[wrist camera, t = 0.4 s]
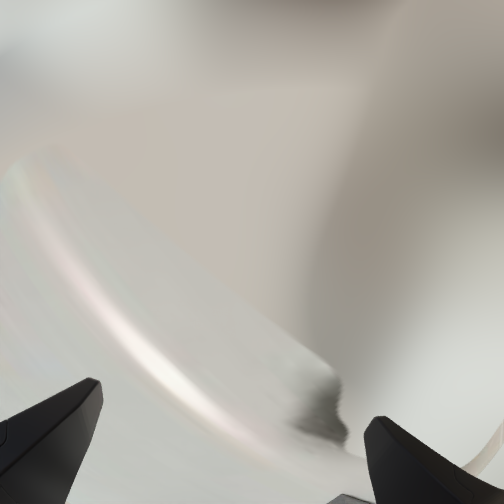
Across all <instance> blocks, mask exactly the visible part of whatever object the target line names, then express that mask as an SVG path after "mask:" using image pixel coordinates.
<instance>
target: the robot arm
mask: <svg viewBox="0 0 504 504" xmlns="http://www.w3.org/2000/svg"><path fill="white" fill-rule="evenodd" d="M102 405H103V393H102V386H101V382H100V381H99V380H96V379H93V378H86V379H84V380H82V381H80V382H78V383H76V384H75V385H73V386H71V387H69V388H67V389H65V390H63V391H61V392H59V393H57V394H56V395H54V396H52V397H50V398H48V399H46V400H44V401H42V402H40V403H38V404H36V405H34V406H32V407H30V408H28V409H26V410H24V411H22V412H20V413H18V414H16V415H14V416H12V417H10V418H8V420H4V421H2V422H0V504H65V502H66V499H67V497H68V494H69V492H70V489H71V487H72V484H73V482H74V479H75V477H76V475H77V472H78V470H79V468H80V465H81V463H82V461H83V458H84V456H85V454H86V452H87V449H88V447H89V445H90V442H91V440H92V437H93V433H94V430H95V427H96V424H97V421H98V418H99V414H100V411H101V408H102ZM364 443H365V449H366V456H367V464H368V470H369V475H370V479H371V483H372V487H373V491H374V495H375V500H376V504H504V490H503V489H499V488H497V487H494V486H492V485H490V484H488V483H486V482H484V481H482V480H480V479H478V478H476V477H474V476H472V475H471V474H469V473H467V472H466V471H464V470H462V469H461V468H459V467H458V466H456V465H455V464H453V463H451V462H450V461H448V460H447V459H446V458H444V457H443V456H441V455H440V454H438V453H437V452H435V451H434V450H432V449H431V448H430V447H428V446H427V445H425V444H424V443H422V442H421V441H420V440H418V439H417V438H415V437H414V436H412V435H411V434H410V433H408V432H407V431H405V430H404V429H403V428H401V427H400V426H399V425H397V424H396V423H394V422H393V421H392V420H390V419H389V418H388V417H386V416H377V417H374V418H373V420H372V421H371V423H370V424H369V426H368V427H367V429H366V431H365V432H364Z"/></svg>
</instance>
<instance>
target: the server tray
mask: <svg viewBox="0 0 504 504" xmlns="http://www.w3.org/2000/svg"><path fill="white" fill-rule="evenodd" d="M328 504H371V503H367V502H364V501H361V500H358V499H355V498H352V497H349V496H347V495H344V494H341V495H340V496H338V497H337V498H335V499H334V500H332V501H331V502H329V503H328Z"/></svg>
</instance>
